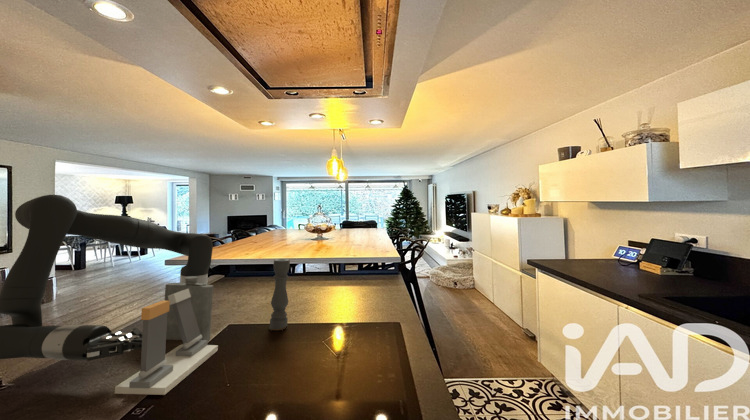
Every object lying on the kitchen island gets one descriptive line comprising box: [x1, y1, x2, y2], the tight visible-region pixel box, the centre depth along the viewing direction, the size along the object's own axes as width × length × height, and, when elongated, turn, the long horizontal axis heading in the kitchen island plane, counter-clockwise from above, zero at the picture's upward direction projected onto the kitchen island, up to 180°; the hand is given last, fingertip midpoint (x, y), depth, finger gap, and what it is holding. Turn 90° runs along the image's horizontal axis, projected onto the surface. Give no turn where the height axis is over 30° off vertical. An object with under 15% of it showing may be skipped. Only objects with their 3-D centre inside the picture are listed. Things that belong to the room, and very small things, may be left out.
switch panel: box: [114, 340, 219, 396], centre depth 74 cm, size 11×23×3 cm, turn 1°
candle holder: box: [269, 258, 291, 330], centre depth 105 cm, size 6×6×25 cm
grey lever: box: [168, 289, 202, 349], centre depth 82 cm, size 2×6×16 cm, turn 2°
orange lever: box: [139, 300, 170, 379], centre depth 67 cm, size 2×6×16 cm, turn 1°
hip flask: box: [163, 276, 214, 342], centre depth 93 cm, size 16×4×20 cm, turn 85°
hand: (151, 343), depth 67 cm, fingers closed
